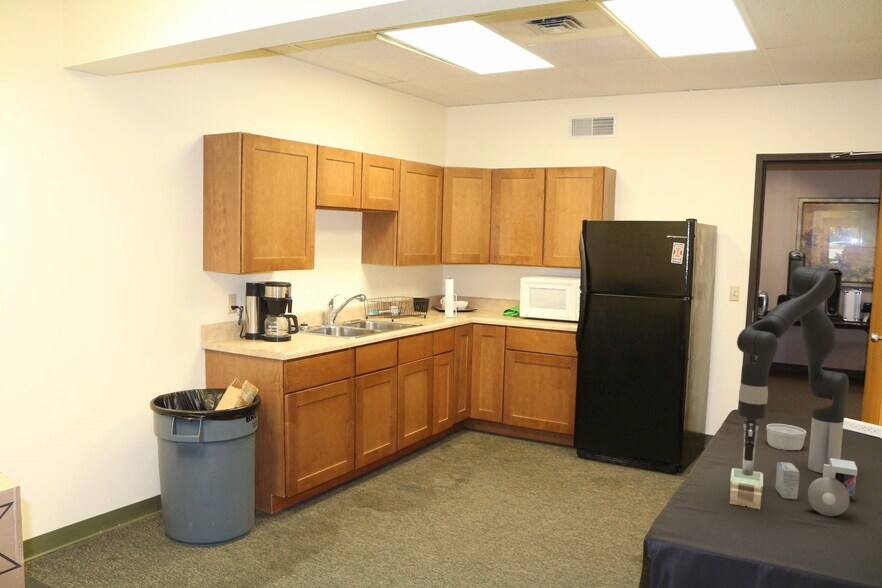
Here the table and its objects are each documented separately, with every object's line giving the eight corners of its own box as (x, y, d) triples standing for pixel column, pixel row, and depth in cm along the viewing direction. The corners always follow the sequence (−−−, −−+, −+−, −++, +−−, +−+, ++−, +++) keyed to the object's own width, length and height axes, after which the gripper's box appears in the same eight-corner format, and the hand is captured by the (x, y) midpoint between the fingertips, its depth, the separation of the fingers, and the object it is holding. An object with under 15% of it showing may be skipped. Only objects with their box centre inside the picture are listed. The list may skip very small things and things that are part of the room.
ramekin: (806, 446, 264) (808, 427, 263) (802, 454, 253) (804, 435, 252) (767, 439, 271) (769, 421, 270) (762, 447, 260) (764, 429, 259)
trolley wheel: (805, 504, 205) (810, 455, 204) (849, 511, 201) (854, 461, 199) (807, 513, 198) (811, 462, 196) (852, 522, 193) (857, 469, 192)
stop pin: (741, 471, 207) (744, 437, 206) (753, 473, 205) (755, 439, 204) (741, 474, 204) (744, 440, 203) (752, 476, 203) (755, 442, 202)
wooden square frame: (730, 494, 210) (731, 481, 210) (760, 499, 207) (761, 486, 207) (729, 503, 203) (730, 490, 203) (760, 509, 200) (761, 495, 200)
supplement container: (831, 499, 210) (834, 465, 209) (825, 491, 216) (828, 458, 215) (856, 503, 208) (860, 468, 207) (850, 495, 214) (853, 461, 213)
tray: (731, 477, 226) (732, 467, 226) (762, 482, 222) (763, 472, 222) (729, 491, 213) (730, 481, 213) (762, 496, 210) (763, 486, 209)
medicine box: (797, 500, 208) (800, 471, 207) (781, 498, 209) (783, 469, 208) (790, 490, 216) (792, 462, 215) (774, 489, 217) (776, 461, 216)
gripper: (767, 407, 195) (762, 468, 196) (767, 396, 207) (762, 453, 209) (737, 403, 198) (733, 463, 199) (739, 393, 210) (735, 449, 212)
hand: (748, 458), depth 204 cm, fingers closed on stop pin, 3 cm apart
